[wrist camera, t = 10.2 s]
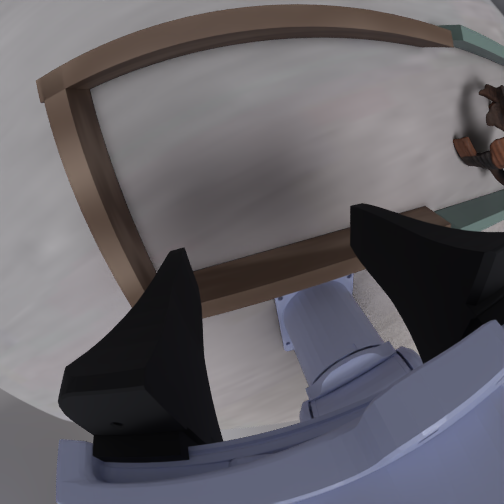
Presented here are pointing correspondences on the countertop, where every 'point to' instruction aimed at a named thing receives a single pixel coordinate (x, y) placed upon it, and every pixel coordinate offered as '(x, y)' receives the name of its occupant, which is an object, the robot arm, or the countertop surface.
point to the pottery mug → (500, 150)
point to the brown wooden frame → (178, 44)
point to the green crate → (495, 204)
